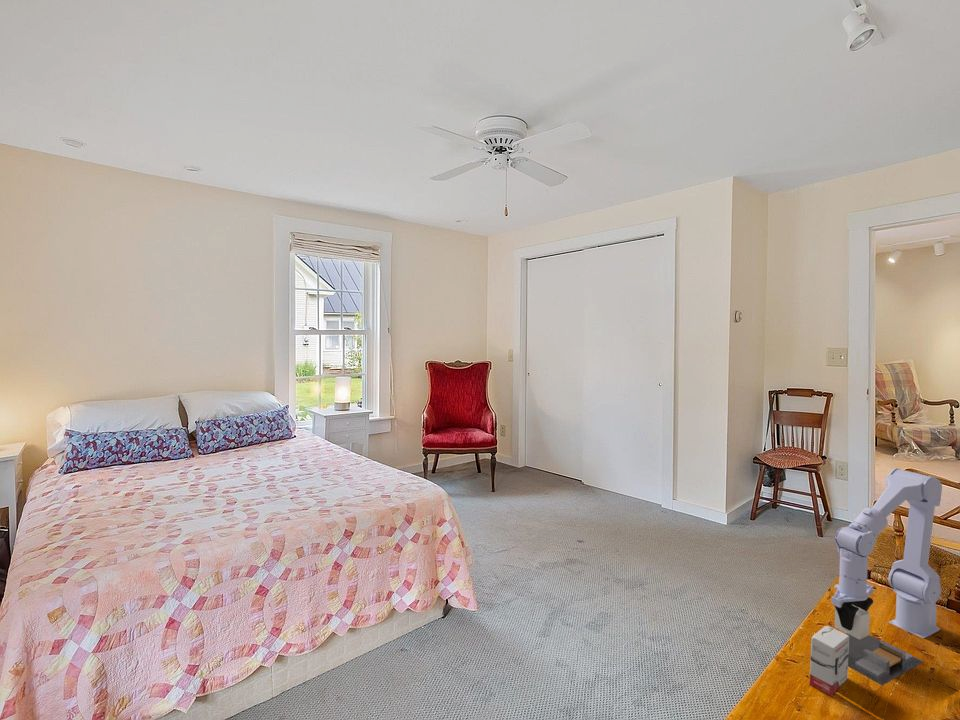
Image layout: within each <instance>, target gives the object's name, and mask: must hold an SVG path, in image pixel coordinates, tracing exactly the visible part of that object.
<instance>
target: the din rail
mask: <svg viewBox="0 0 960 720" xmlns="http://www.w3.org/2000/svg"><path fill="white" fill-rule="evenodd" d="M846 634H847V635H849V654H848V668H850V669H852V670H854V671H856V673H859V674H861V675H863V676H864V677H866V678H868V679H870V680H871V681H873V682H875V683H877V684H879V685H880V686H884V685H885V684H887V683H889V682H890V681H892V680H894V679H896V678H898V677H899V676H901V675H902V674H904V673H906V672H908V671H910V670H912V669H913V668H915V667H917V666H918V665H920V664H922V663H924V661H923V660H921V659H919V658H917V657H915V656H913V655H912V654H911V653H908V652H907V651H904V650H902V649H900V648H898V647H896V646H895V645H892V644H890V643H888V642H886V641H884V640H880V639H878V638H877V637H874V636H872V635H870V634H869V635H868V636H866V637H864V638H862V639H860V640H859V639H857V638H855V637H854V636H852V635H850V634H848V633H846ZM878 648H881V649H883V650H885V651H887V652H889V653H891V654H893V655H895V656H897V657H899V658H901V661H900V662H898V663H896V664H894V665H892V666H891V667H890V661H889V660H887V659H885V658H883V657H881V656H879V655H878V654H876V653H874V652H872V651H874V650H876V649H878Z"/></svg>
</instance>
